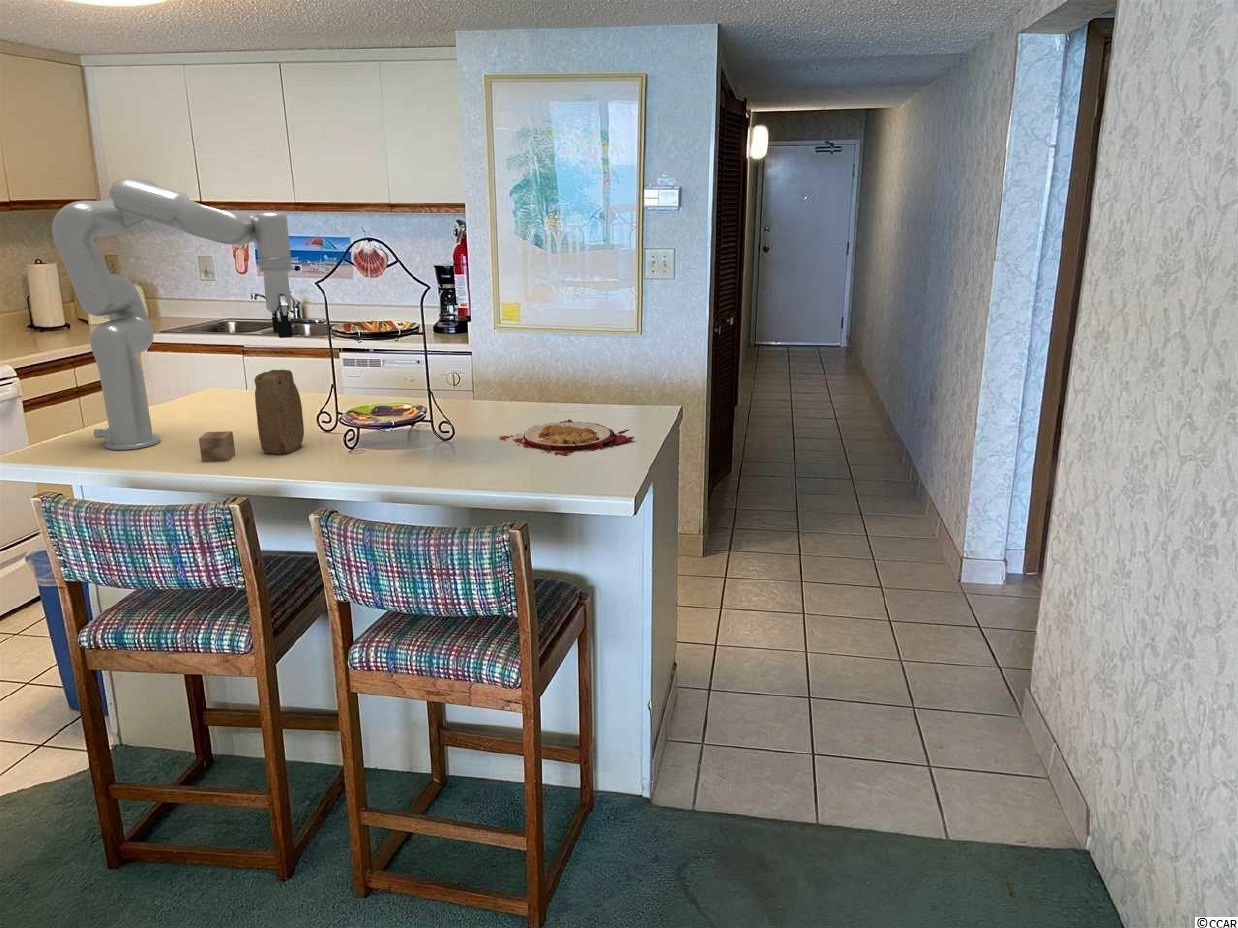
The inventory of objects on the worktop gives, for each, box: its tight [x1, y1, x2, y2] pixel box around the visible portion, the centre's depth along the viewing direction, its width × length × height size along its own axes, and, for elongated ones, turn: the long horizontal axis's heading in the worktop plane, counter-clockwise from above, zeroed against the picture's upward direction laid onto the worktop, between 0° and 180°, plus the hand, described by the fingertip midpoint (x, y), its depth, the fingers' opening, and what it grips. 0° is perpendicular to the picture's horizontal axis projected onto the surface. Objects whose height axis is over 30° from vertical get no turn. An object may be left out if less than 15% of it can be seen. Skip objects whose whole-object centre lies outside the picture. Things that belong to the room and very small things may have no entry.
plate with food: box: [499, 418, 635, 457], centre depth 232 cm, size 25×26×4 cm
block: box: [253, 369, 305, 455], centre depth 220 cm, size 11×8×20 cm
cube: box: [198, 430, 236, 463], centre depth 215 cm, size 6×6×6 cm
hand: (283, 334), depth 221 cm, fingers open, 9 cm apart
